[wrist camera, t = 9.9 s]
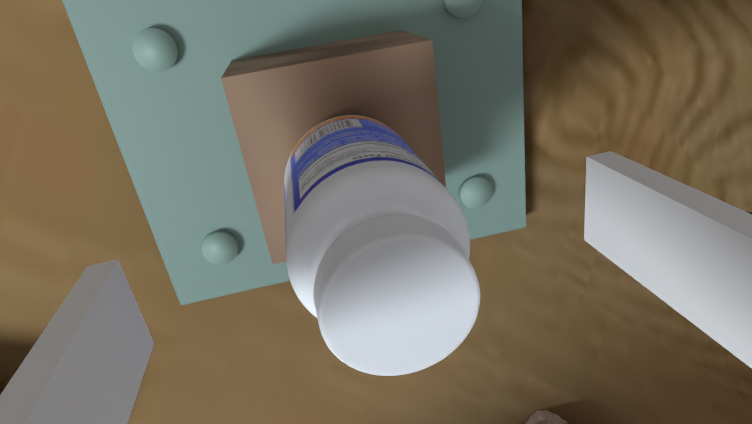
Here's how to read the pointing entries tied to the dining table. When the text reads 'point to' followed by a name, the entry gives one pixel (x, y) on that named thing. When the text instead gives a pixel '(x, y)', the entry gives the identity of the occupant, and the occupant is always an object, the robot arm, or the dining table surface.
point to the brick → (545, 418)
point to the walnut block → (329, 107)
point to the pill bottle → (377, 248)
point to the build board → (217, 132)
